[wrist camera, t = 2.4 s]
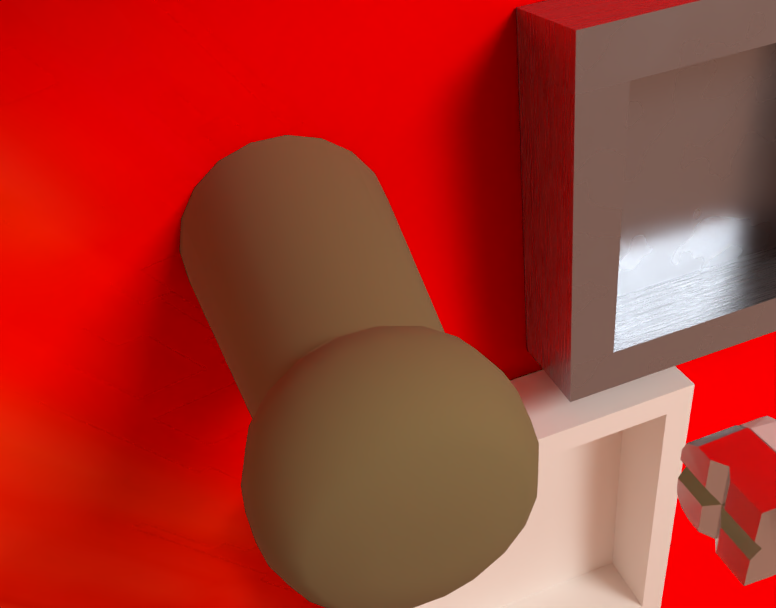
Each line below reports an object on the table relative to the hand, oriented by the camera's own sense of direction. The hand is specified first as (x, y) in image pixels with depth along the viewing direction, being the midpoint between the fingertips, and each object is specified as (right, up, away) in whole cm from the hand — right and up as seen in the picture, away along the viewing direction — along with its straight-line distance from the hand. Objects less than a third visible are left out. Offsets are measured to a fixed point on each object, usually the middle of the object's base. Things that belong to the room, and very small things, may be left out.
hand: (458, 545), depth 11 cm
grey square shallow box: (+8, +9, +11) cm, 17 cm away
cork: (-4, +6, +9) cm, 11 cm away
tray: (+3, -5, +18) cm, 19 cm away
